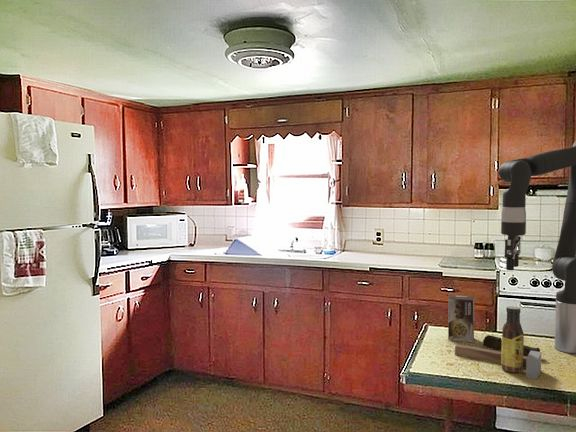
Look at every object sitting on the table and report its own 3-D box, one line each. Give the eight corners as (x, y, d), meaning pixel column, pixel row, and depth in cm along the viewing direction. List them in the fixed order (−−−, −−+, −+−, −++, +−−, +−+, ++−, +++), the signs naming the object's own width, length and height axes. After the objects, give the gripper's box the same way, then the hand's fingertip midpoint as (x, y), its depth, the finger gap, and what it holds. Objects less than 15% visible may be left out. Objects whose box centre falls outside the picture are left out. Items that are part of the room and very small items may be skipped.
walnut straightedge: (457, 352, 169) (457, 344, 169) (529, 366, 156) (530, 357, 156) (454, 354, 167) (455, 346, 167) (528, 368, 154) (528, 359, 154)
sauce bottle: (518, 375, 148) (520, 311, 147) (498, 370, 153) (499, 308, 151) (525, 369, 153) (527, 307, 152) (505, 364, 157) (506, 304, 156)
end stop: (530, 368, 153) (530, 350, 153) (540, 370, 152) (541, 352, 151) (526, 377, 147) (526, 357, 146) (537, 379, 145) (537, 359, 145)
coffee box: (474, 338, 185) (475, 296, 184) (473, 343, 179) (474, 300, 178) (449, 335, 188) (449, 294, 187) (447, 340, 183) (448, 297, 182)
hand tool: (541, 358, 163) (541, 345, 163) (536, 361, 161) (536, 347, 160) (487, 345, 177) (487, 332, 177) (481, 347, 175) (481, 334, 175)
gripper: (522, 222, 155) (520, 272, 156) (529, 219, 166) (528, 266, 167) (497, 221, 159) (496, 270, 160) (505, 218, 170) (504, 264, 172)
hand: (512, 268), depth 164 cm, fingers open, 8 cm apart
